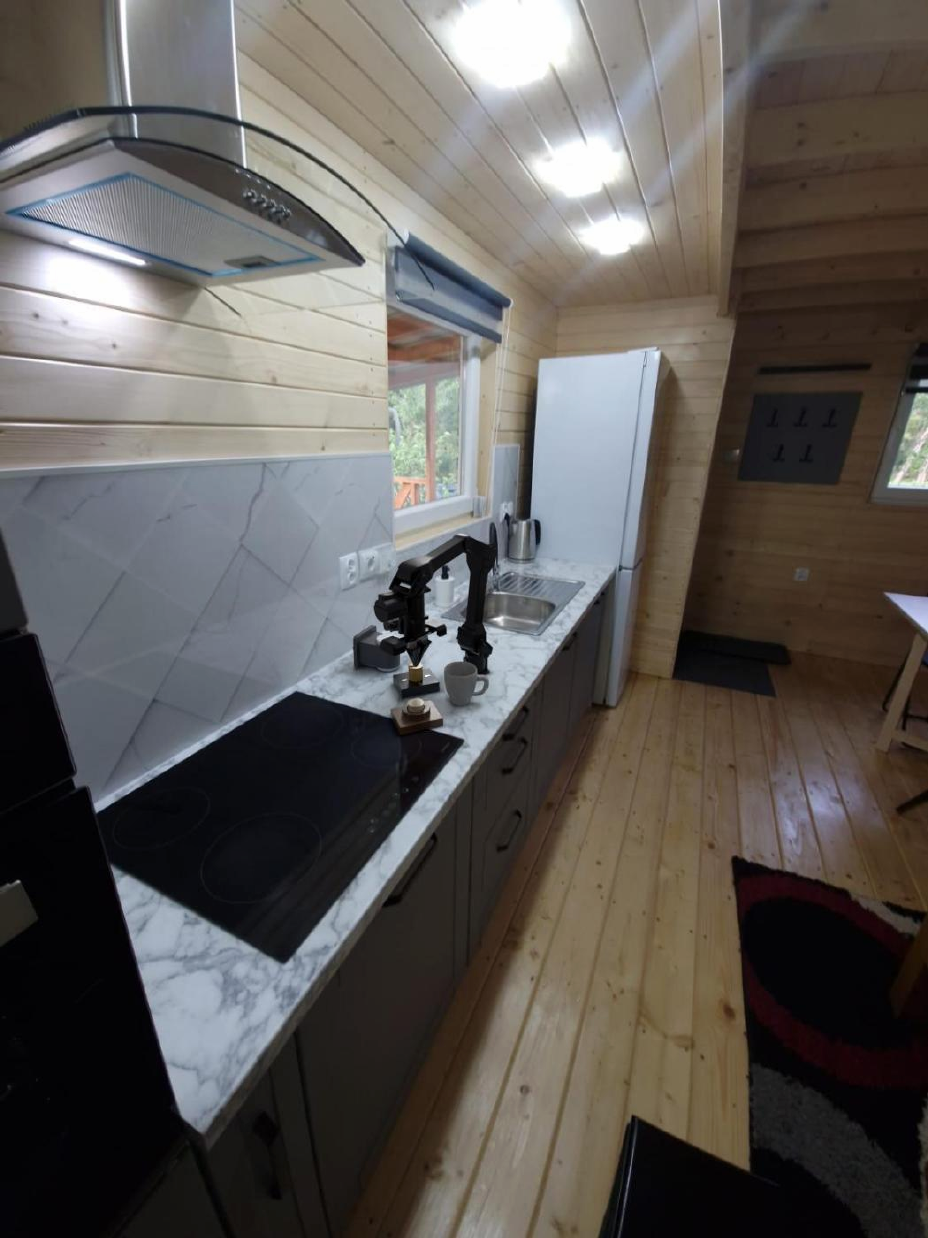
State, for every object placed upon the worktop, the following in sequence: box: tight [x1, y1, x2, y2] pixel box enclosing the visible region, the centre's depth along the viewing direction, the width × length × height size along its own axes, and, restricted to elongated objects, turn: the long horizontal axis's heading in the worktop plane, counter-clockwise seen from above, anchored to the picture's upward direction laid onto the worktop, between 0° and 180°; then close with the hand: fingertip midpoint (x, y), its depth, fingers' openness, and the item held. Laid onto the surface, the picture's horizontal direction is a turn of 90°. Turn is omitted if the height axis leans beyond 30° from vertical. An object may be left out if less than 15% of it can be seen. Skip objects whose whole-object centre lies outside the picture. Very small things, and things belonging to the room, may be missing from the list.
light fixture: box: [352, 624, 401, 672], centre depth 151 cm, size 11×13×11 cm
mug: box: [443, 661, 490, 706], centre depth 133 cm, size 12×9×10 cm
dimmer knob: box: [407, 662, 424, 682], centre depth 139 cm, size 4×4×4 cm
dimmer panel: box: [392, 667, 441, 700], centre depth 140 cm, size 11×9×3 cm
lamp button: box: [407, 697, 425, 712], centre depth 124 cm, size 4×4×2 cm
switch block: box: [390, 700, 444, 736], centre depth 125 cm, size 11×9×4 cm
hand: (415, 666), depth 131 cm, fingers closed
